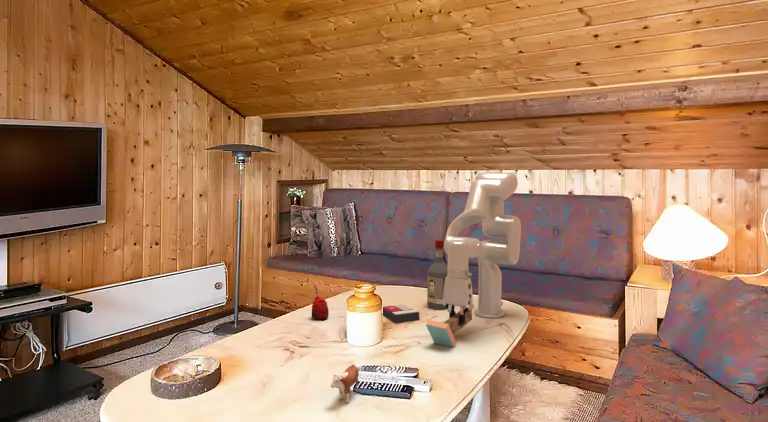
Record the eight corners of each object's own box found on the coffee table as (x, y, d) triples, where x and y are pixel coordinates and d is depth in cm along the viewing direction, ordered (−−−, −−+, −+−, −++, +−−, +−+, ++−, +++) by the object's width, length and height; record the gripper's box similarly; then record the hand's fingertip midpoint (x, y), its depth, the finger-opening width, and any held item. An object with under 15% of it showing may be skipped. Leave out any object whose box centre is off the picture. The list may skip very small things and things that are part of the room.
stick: (465, 318, 197) (464, 307, 196) (472, 319, 195) (471, 308, 194) (441, 336, 182) (441, 324, 182) (449, 338, 181) (448, 326, 180)
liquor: (437, 303, 236) (438, 238, 233) (453, 307, 229) (454, 240, 227) (424, 306, 230) (424, 240, 227) (439, 311, 223) (440, 242, 220)
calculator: (403, 303, 224) (419, 310, 210) (403, 313, 224) (419, 320, 210) (380, 306, 219) (395, 313, 205) (380, 316, 219) (395, 324, 206)
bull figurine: (327, 406, 134) (327, 376, 134) (349, 386, 147) (349, 358, 146) (343, 409, 133) (342, 379, 132) (363, 388, 145) (363, 360, 145)
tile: (436, 338, 185) (428, 319, 179) (456, 342, 180) (448, 324, 175) (433, 343, 183) (425, 325, 178) (453, 347, 179) (445, 329, 173)
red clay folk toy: (331, 319, 211) (331, 283, 210) (316, 322, 207) (315, 285, 206) (323, 315, 217) (322, 280, 216) (308, 317, 213) (307, 282, 212)
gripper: (483, 275, 185) (482, 325, 186) (443, 269, 195) (442, 317, 196) (473, 278, 179) (472, 330, 180) (433, 273, 188) (432, 322, 190)
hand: (457, 323), depth 188 cm, fingers closed on stick, 3 cm apart
